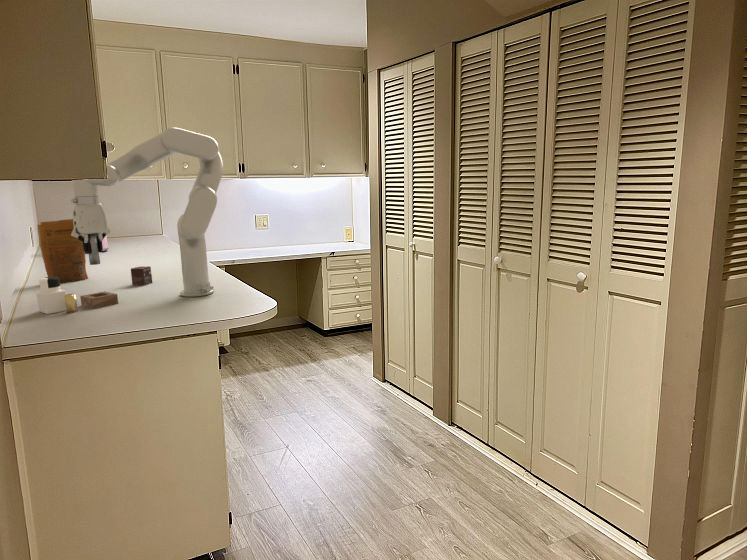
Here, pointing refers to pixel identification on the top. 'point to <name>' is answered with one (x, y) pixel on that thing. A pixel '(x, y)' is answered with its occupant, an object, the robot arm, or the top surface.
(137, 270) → the box
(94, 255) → the long peg
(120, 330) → the top surface
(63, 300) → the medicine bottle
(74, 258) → the pancake mix bag
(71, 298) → the short peg
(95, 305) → the hole block
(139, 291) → the top surface
